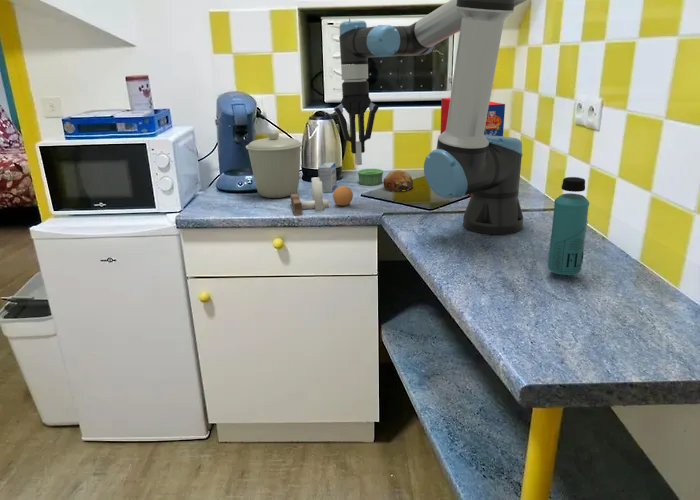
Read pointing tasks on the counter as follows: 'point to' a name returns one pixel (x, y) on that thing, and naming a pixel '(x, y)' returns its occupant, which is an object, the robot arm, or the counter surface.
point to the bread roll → (398, 181)
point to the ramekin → (370, 176)
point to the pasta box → (492, 122)
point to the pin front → (313, 204)
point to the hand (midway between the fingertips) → (358, 164)
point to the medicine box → (327, 177)
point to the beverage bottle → (568, 229)
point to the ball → (342, 195)
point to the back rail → (296, 204)
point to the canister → (275, 165)
